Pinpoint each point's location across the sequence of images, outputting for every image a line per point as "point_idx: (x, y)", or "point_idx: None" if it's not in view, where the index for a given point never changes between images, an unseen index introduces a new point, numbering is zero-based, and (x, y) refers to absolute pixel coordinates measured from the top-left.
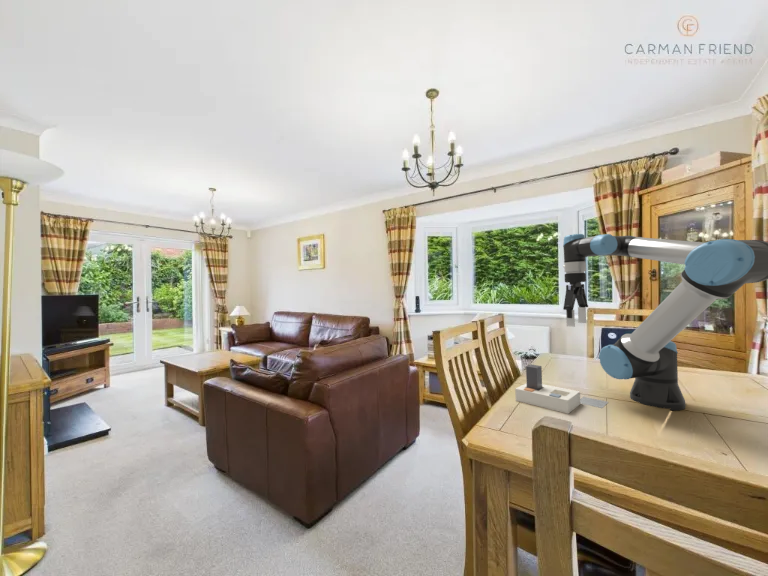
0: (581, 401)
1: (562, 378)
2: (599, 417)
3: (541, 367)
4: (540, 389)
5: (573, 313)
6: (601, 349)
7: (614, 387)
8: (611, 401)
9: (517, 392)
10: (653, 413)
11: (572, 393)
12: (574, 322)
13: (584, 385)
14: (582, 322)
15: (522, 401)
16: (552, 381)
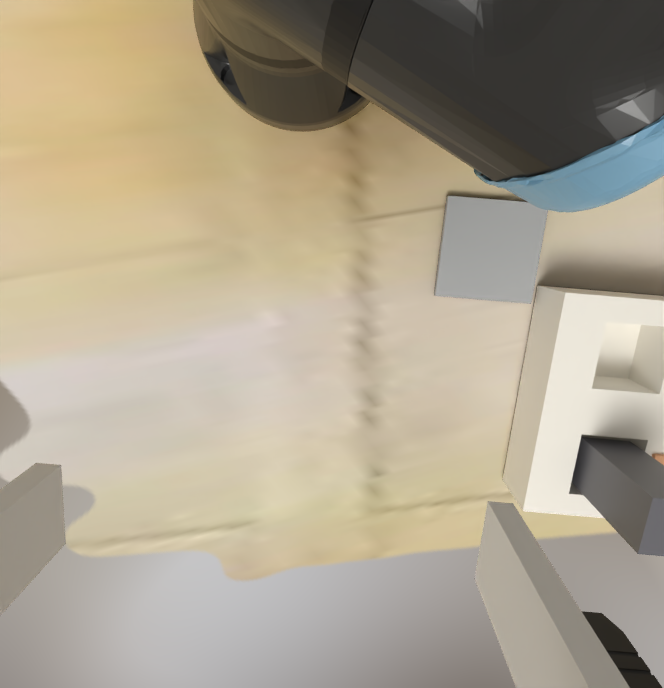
0: (508, 288)
1: (175, 436)
2: (633, 199)
3: (647, 493)
4: (602, 441)
5: (608, 658)
6: (654, 179)
7: (171, 215)
8: (400, 193)
9: None
10: None
11: (615, 312)
12: (519, 534)
13: (228, 332)
14: (60, 502)
15: None
16: (255, 458)
